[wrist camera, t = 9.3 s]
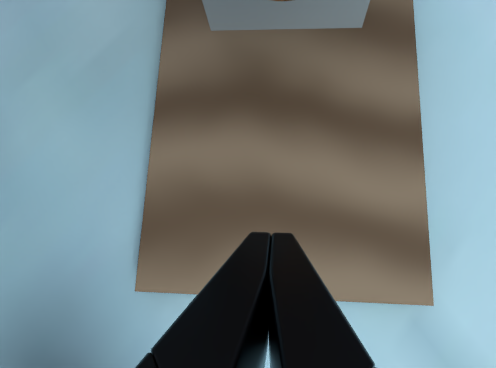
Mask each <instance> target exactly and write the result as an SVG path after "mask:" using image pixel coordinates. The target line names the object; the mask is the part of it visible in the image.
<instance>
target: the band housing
mask: <svg viewBox="0 0 496 368" xmlns="http://www.w3.org/2000/svg"><path fill="white" fill-rule="evenodd" d="M202 2H203V5H204V9H205V12H206V16H207V19H208V22H209V26H210V29H211V31H220V30H273V29H325V28H362V26H363V22H364V19H365V16H366V12H367V9H368V6H369V2H370V0H293V1H272V0H202Z"/></svg>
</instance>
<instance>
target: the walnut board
mask: <svg viewBox="0 0 496 368" xmlns="http://www.w3.org/2000/svg"><path fill="white" fill-rule="evenodd" d="M251 232H269V233H270V234H271V236H272V234H273V233H275V232H280V233H292V234H293V235H294V236H295V238H296V239H297V241H298V243H299V244H300V246H301V247H302V249H303V251H304V252H305V254H306V255H307V257H308V259H309V260H310V262H311V263H312V265H313V267H314V268H315V270H316V271H317V273H318V274H319V276H320V278H321V279H322V281H323V282H324V284H325V286H326V287H327V289H328V290H329V292H330V294H331V295H332V297H333V298H334V300H335V301H346V302H367V303H388V304H408V305H429V306H434V304H433V289H432V274H431V260H430V245H429V230H428V215H427V201H426V186H425V171H424V156H423V142H422V127H421V112H420V97H419V83H418V68H417V53H416V38H415V24H414V9H413V0H370V2H369V6H368V9H367V12H366V16H365V19H364V22H363V26H362V28H325V29H273V30H220V31H211V29H210V26H209V22H208V19H207V16H206V12H205V9H204V5H203V2H202V0H166V9H165V19H164V28H163V37H162V46H161V55H160V65H159V74H158V83H157V92H156V101H155V111H154V120H153V129H152V138H151V148H150V157H149V166H148V175H147V184H146V194H145V203H144V212H143V221H142V230H141V240H140V249H139V258H138V267H137V276H136V286H135V291H139V292H160V293H181V294H198V293H199V292H200V291H201V290H202V289H203V288H204V286H205V285H206V284H207V283H208V282H209V281H210V279H211V278H212V277H213V276H214V275H215V273H216V272H217V271H218V270H219V269H220V268H221V266H222V265H223V264H224V263H225V262H226V260H227V259H228V258H229V257H230V256H231V255H232V253H233V252H234V251H235V250H236V249H237V247H238V246H239V245H240V244H241V243H242V242H243V240H244V239H245V238H246V237H247V236H248V234H249V233H251Z"/></svg>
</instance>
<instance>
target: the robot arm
mask: <svg viewBox="0 0 496 368" xmlns="http://www.w3.org/2000/svg"><path fill="white" fill-rule="evenodd" d="M268 336H269V356H270V368H376V367H375V364H374V362H373V360H372V359H371V357H370V356H369V354H368V352H367V351H366V349H365V348H364V346H363V344H362V343H361V341H360V340H359V338H358V336H357V335H356V333H355V332H354V330H353V328H352V327H351V325H350V324H349V322H348V321H347V319H346V317H345V316H344V314H343V313H342V311H341V309H340V308H339V306H338V305H337V303H336V301H335V300H334V298H333V297H332V295H331V294H330V292H329V290H328V289H327V287H326V286H325V284H324V282H323V281H322V279H321V278H320V276H319V274H318V273H317V271H316V270H315V268H314V267H313V265H312V263H311V262H310V260H309V259H308V257H307V255H306V254H305V252H304V251H303V249H302V247H301V246H300V244H299V243H298V241H297V239H296V238H295V236H294V235H293V234H292V233H280V232H275V233H273V234H272V236H271V234H270V233H269V232H251V233H249V234H248V236H247V237H246V238H245V239H244V240H243V242H242V243H241V244H240V245H239V246H238V247H237V249H236V250H235V251H234V252H233V253H232V255H231V256H230V257H229V258H228V259H227V260H226V262H225V263H224V264H223V265H222V266H221V268H220V269H219V270H218V271H217V272H216V273H215V275H214V276H213V277H212V278H211V279H210V281H209V282H208V283H207V284H206V285H205V286H204V288H203V289H202V290H201V291H200V292H199V293H198V295H197V296H196V297H195V298H194V299H193V301H192V302H191V303H190V304H189V305H188V306H187V308H186V309H185V310H184V311H183V312H182V314H181V315H180V316H179V317H178V318H177V319H176V321H175V322H174V323H173V324H172V325H171V327H170V328H169V329H168V330H167V331H166V332H165V334H164V335H163V336H162V337H161V338H160V340H159V341H158V342H157V343H156V344H155V345H154V347H153V348H152V349H151V353H147V354H146V356H145V357H144V358H143V359H142V360H141V362H140V363H139V364H138V365H137V366H136V368H264V366H265V360H266V354H267V347H268Z"/></svg>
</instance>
